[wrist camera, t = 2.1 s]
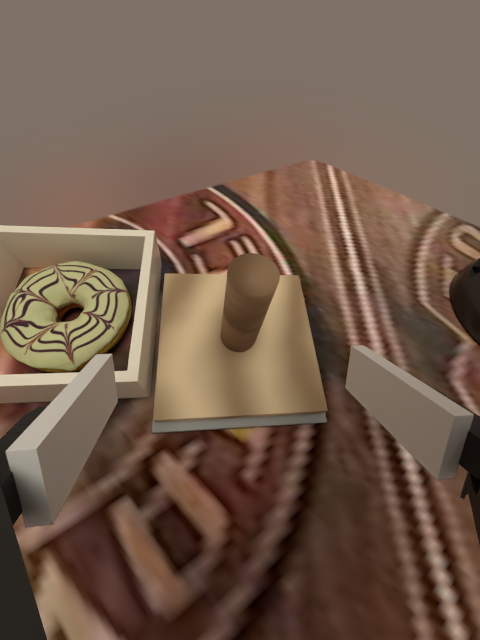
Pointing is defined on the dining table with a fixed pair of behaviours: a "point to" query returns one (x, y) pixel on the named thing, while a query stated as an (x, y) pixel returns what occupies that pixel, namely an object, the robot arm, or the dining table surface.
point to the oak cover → (236, 346)
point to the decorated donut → (53, 302)
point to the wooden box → (100, 250)
